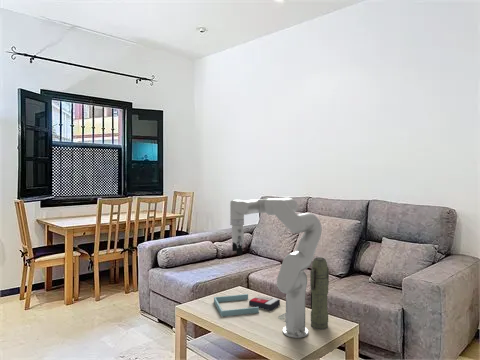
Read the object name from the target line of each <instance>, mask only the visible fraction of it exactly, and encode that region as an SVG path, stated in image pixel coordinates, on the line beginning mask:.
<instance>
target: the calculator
mask: <svg viewBox="0 0 480 360" xmlns="http://www.w3.org/2000/svg"><path fill="white" fill-rule="evenodd" d="M248 305H249V306H250V307H259V309H260V310H261V309H262V310H265V311H269V312H272V311H273V310H275V309H277V308H278V307H280V306H281V301H280V299H279V298H273V297H269V296H264V295H257V296H255V297H254V298H252V299H249V301H248Z"/></svg>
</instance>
